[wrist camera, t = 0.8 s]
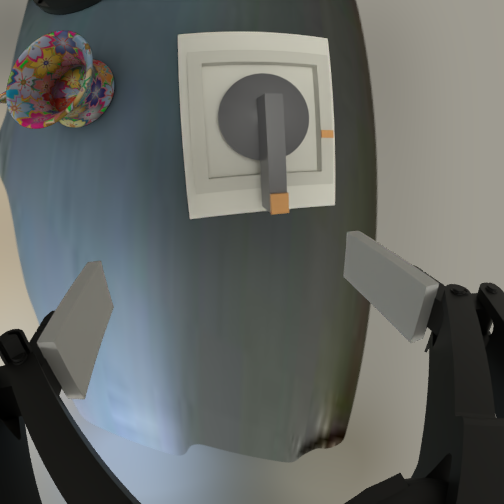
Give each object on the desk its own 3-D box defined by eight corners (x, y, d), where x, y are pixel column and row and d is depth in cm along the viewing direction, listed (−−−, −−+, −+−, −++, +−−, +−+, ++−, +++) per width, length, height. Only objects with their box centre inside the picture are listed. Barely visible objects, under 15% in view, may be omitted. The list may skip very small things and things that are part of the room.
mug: (122, 52, 25) (97, 19, 15) (118, 125, 28) (88, 117, 19) (36, 72, 23) (-8, 55, 13) (33, 140, 26) (-16, 144, 16)
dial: (215, 77, 28) (220, 64, 23) (301, 77, 29) (321, 67, 24) (223, 207, 33) (230, 218, 28) (306, 199, 35) (326, 209, 30)
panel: (178, 38, 26) (177, 29, 23) (323, 41, 29) (333, 34, 26) (189, 216, 34) (189, 222, 31) (330, 203, 37) (341, 208, 34)
